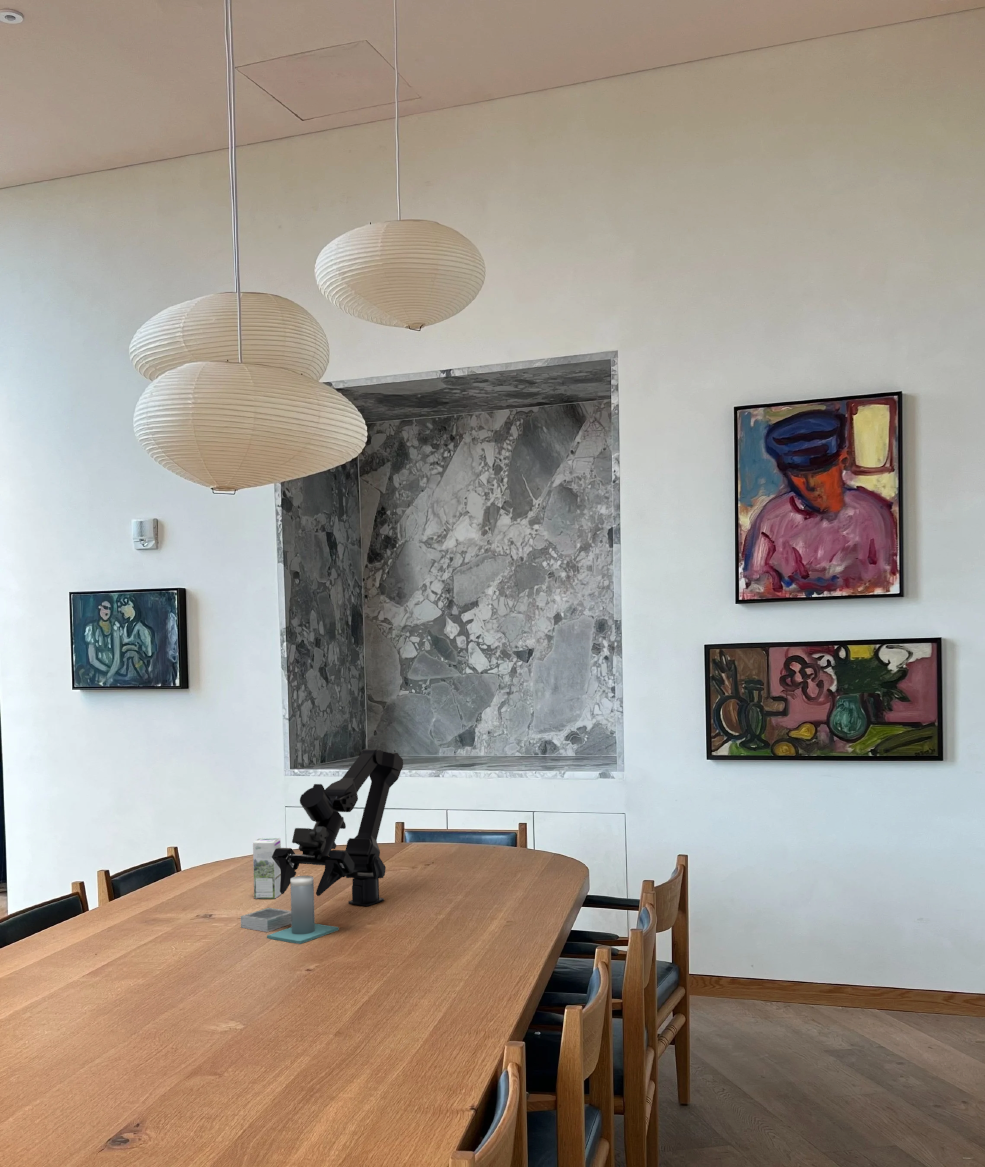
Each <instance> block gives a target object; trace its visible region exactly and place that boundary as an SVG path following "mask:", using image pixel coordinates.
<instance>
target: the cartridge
mask: <svg viewBox="0 0 985 1167" xmlns="http://www.w3.org/2000/svg"><path fill="white" fill-rule="evenodd" d="M290 882H291V883H290V909H291V910H290V911H291V921H292V924H291V927H292V933H293V934H308V933H312V932H314V931H315V924H316V922H315V918H316V917H315V887H314V886H315V884H314V883H315V882H314V876H312V875H297V876H296V875H295V877H293V878H291V879H290Z"/></svg>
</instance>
